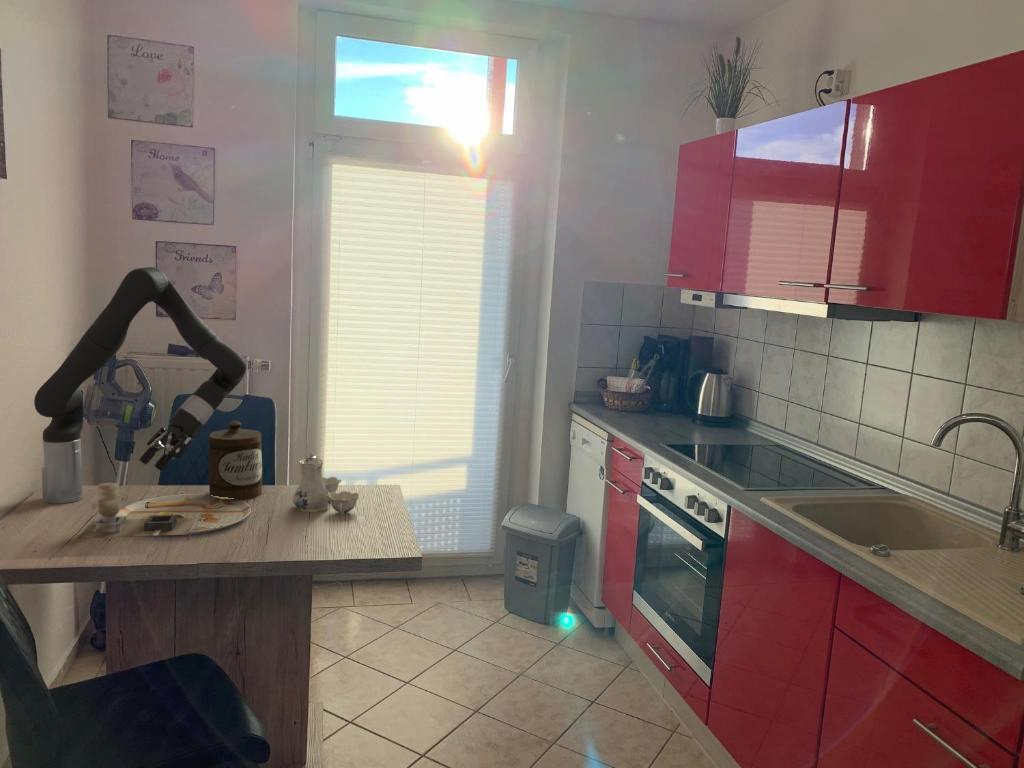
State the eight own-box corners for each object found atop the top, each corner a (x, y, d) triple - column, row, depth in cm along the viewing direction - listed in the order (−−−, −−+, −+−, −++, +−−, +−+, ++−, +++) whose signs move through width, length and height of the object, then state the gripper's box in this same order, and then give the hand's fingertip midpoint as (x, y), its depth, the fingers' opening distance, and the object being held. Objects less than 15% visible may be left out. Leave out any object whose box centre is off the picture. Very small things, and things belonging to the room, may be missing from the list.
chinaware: (368, 521, 225) (374, 462, 223) (309, 524, 215) (316, 462, 214) (330, 496, 248) (335, 443, 246) (275, 498, 238) (281, 442, 237)
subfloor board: (76, 544, 194) (76, 530, 194) (93, 526, 208) (93, 512, 207) (187, 540, 200) (187, 526, 199) (197, 522, 213) (197, 509, 213)
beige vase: (97, 531, 199) (95, 487, 198) (102, 525, 204) (100, 482, 202) (116, 530, 200) (115, 487, 199) (121, 525, 205) (119, 482, 203)
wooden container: (225, 503, 231) (224, 427, 228) (200, 492, 241) (198, 419, 238) (271, 494, 242) (271, 421, 239) (246, 484, 252) (245, 414, 249)
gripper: (169, 403, 217) (126, 452, 210) (195, 411, 208) (151, 461, 201) (188, 421, 222) (147, 468, 215) (215, 429, 212) (173, 479, 205)
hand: (149, 465), depth 208 cm, fingers open, 8 cm apart
